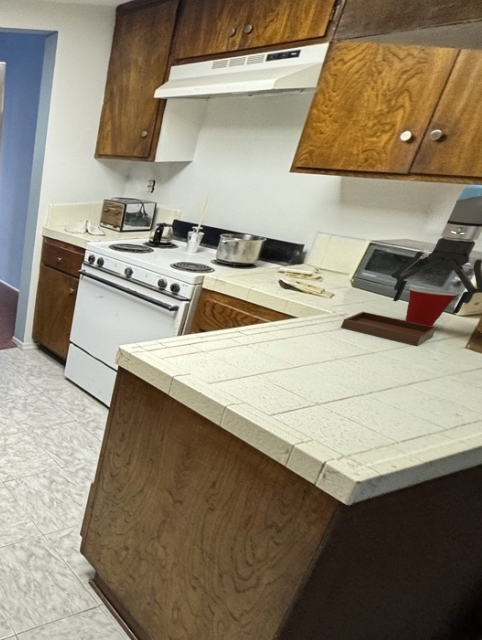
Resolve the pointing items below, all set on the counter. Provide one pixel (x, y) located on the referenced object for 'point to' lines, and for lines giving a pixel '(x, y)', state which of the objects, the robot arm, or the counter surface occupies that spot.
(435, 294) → the plastic cup
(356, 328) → the tray
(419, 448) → the counter surface
